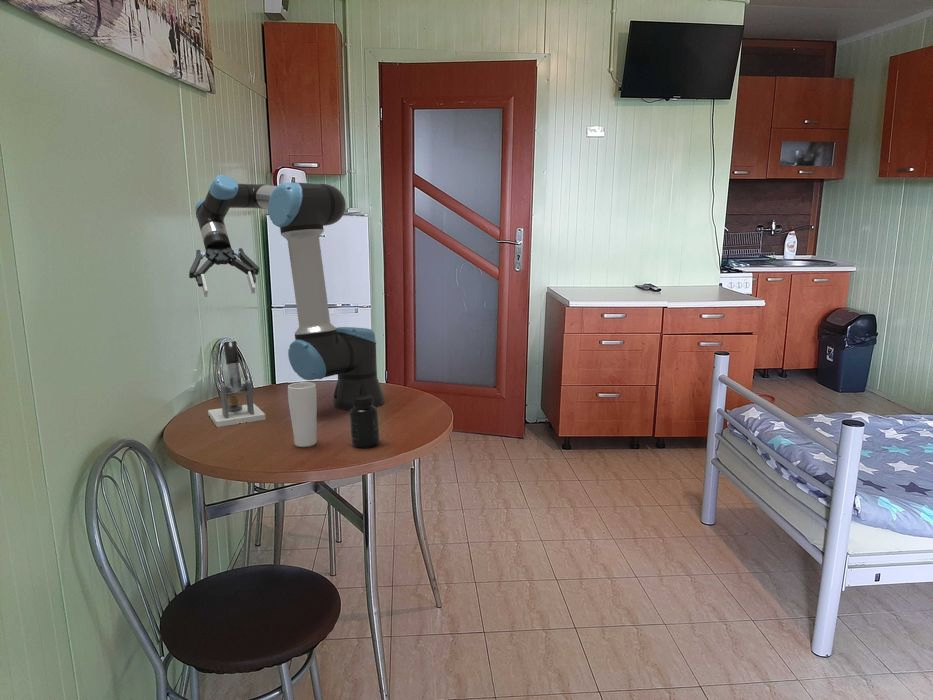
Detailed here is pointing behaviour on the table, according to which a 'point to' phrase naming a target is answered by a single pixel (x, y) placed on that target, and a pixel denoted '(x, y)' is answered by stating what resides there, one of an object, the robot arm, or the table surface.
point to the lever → (233, 368)
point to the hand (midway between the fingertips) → (230, 292)
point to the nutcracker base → (236, 409)
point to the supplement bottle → (364, 422)
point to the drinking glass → (303, 412)
